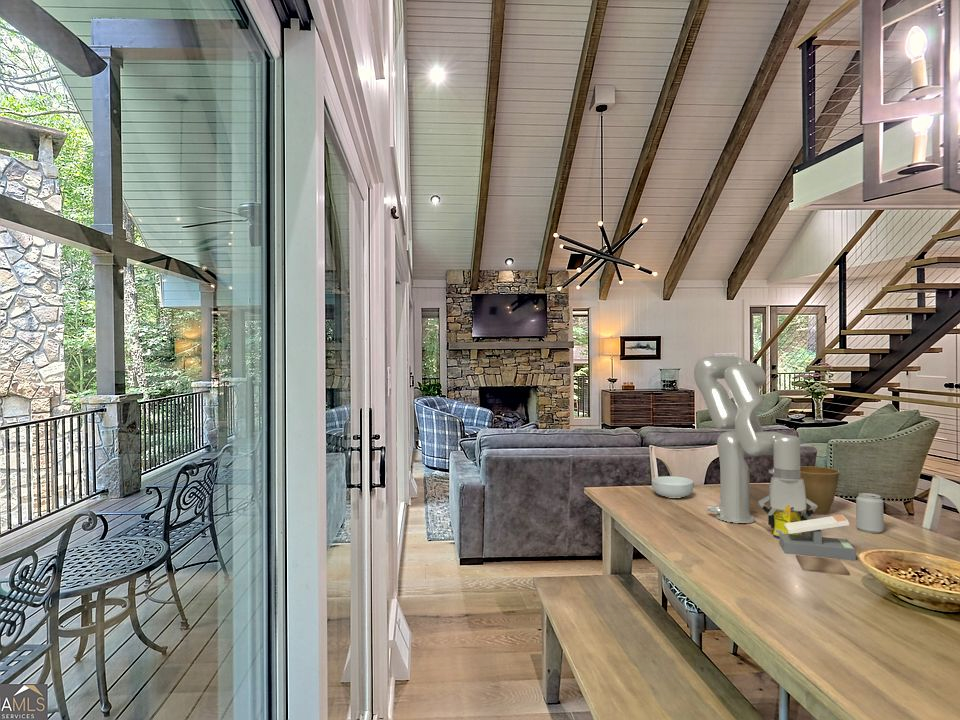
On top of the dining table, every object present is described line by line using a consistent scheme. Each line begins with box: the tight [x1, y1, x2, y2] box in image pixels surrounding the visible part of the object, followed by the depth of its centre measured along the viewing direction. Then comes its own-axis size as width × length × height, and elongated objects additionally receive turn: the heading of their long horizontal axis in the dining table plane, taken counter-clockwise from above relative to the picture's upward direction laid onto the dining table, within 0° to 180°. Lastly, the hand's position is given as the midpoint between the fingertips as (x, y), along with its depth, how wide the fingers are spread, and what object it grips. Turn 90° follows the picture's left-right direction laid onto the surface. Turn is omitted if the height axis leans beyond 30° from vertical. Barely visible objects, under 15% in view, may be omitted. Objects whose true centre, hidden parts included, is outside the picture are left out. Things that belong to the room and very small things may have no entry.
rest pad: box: [795, 554, 851, 576], centre depth 156 cm, size 11×11×1 cm
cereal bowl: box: [651, 475, 695, 498], centre depth 236 cm, size 17×17×7 cm
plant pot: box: [800, 465, 840, 516], centre depth 211 cm, size 15×15×16 cm
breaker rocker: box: [784, 514, 850, 534], centre depth 168 cm, size 16×7×2 cm, turn 70°
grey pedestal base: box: [778, 529, 857, 561], centre depth 168 cm, size 18×10×7 cm, turn 70°
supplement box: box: [772, 506, 803, 539], centre depth 180 cm, size 6×6×11 cm
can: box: [855, 492, 885, 534], centre depth 188 cm, size 8×8×12 cm
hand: (787, 528), depth 180 cm, fingers closed on supplement box, 8 cm apart
